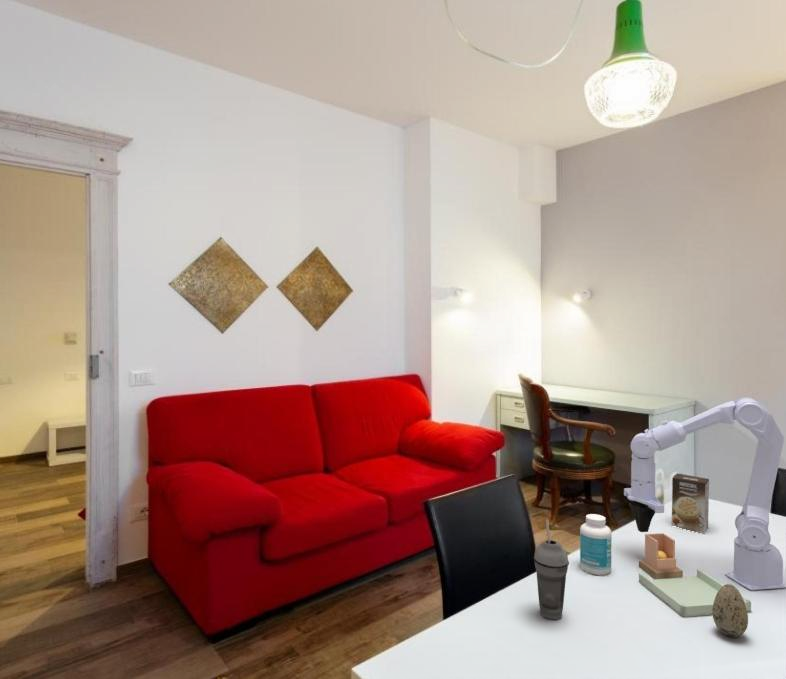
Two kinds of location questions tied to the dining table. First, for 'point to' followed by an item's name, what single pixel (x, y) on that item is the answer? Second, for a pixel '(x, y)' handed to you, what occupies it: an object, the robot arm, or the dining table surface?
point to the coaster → (662, 573)
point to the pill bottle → (595, 545)
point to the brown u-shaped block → (660, 544)
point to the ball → (661, 555)
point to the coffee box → (690, 502)
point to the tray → (687, 593)
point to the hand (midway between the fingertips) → (643, 531)
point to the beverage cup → (551, 576)
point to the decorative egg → (730, 611)
